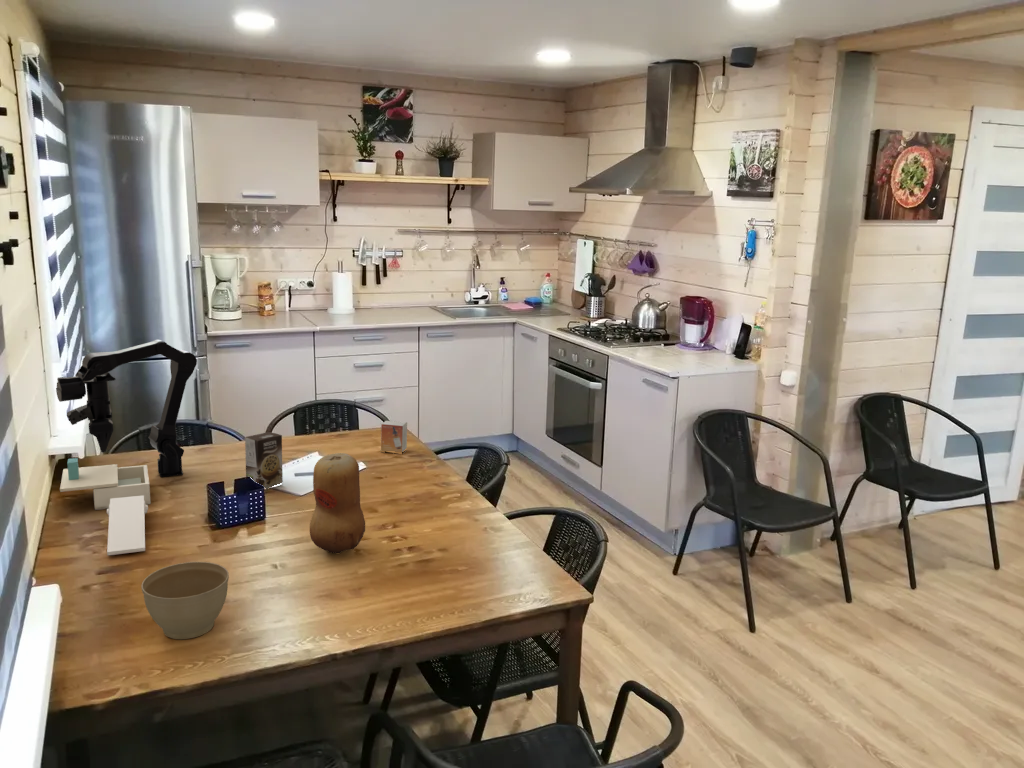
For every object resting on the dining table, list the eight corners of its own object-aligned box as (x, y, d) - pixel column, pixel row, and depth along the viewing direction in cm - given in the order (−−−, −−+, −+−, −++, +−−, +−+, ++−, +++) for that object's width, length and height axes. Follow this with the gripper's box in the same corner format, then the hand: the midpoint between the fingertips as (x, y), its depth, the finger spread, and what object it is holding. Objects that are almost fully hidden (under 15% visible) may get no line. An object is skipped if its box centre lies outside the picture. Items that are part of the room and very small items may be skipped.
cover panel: (117, 466, 238) (116, 447, 237) (117, 485, 222) (116, 465, 221) (63, 471, 232) (62, 452, 230) (60, 491, 216) (58, 471, 215)
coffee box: (258, 492, 239) (256, 440, 235) (245, 487, 243) (243, 436, 239) (283, 485, 246) (282, 434, 243) (270, 480, 250) (269, 430, 246)
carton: (147, 483, 243) (146, 464, 241) (150, 503, 227) (149, 483, 226) (95, 489, 236) (94, 469, 235) (94, 510, 221) (93, 489, 219)
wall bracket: (145, 574, 197) (144, 519, 221) (152, 548, 196) (150, 496, 220) (100, 571, 192) (104, 515, 216) (107, 544, 191) (110, 491, 215)
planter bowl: (181, 603, 172) (179, 556, 170) (246, 616, 167) (245, 568, 165) (126, 640, 157) (122, 589, 154) (196, 656, 152) (193, 603, 150)
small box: (380, 452, 282) (380, 423, 280) (385, 448, 288) (385, 420, 286) (402, 454, 281) (402, 425, 279) (407, 450, 287) (407, 421, 284)
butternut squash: (298, 555, 197) (296, 458, 192) (329, 536, 210) (328, 444, 204) (346, 566, 192) (346, 467, 187) (375, 546, 205) (376, 452, 199)
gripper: (67, 392, 239) (72, 442, 242) (66, 406, 222) (71, 460, 226) (109, 388, 244) (113, 438, 247) (110, 403, 228) (115, 455, 231)
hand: (103, 447), depth 238 cm, fingers open, 9 cm apart
